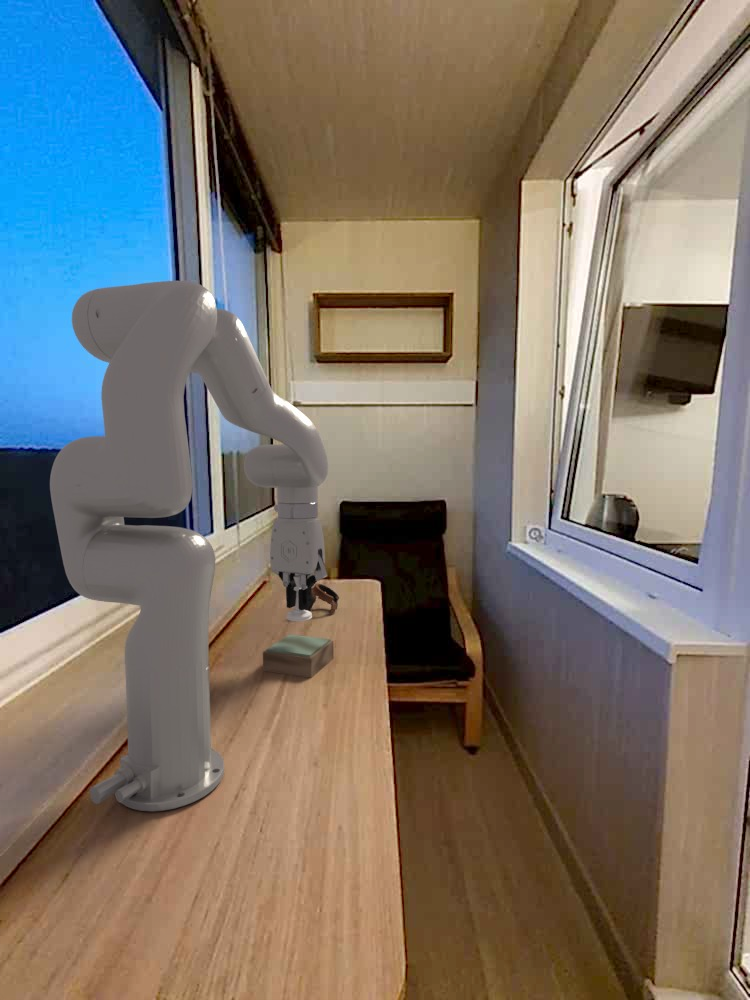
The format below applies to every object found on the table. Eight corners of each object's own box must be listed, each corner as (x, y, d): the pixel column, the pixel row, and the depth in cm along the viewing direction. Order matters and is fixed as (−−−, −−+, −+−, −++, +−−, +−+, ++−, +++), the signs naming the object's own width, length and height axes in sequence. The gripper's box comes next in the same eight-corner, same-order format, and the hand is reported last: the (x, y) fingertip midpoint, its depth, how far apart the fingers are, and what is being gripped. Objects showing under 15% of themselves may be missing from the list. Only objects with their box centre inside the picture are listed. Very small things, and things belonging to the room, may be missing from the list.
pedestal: (311, 677, 98) (311, 656, 98) (263, 670, 102) (262, 649, 101) (333, 658, 108) (333, 638, 107) (288, 652, 111) (288, 633, 111)
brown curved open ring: (308, 607, 146) (323, 581, 146) (333, 627, 142) (349, 601, 141) (282, 606, 136) (299, 578, 135) (308, 628, 131) (325, 600, 131)
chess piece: (307, 622, 101) (306, 569, 100) (282, 620, 102) (281, 568, 101) (315, 614, 106) (315, 564, 105) (291, 613, 107) (290, 563, 106)
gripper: (251, 511, 103) (253, 606, 104) (321, 516, 95) (322, 618, 97) (277, 508, 109) (278, 597, 111) (344, 512, 102) (344, 608, 103)
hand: (299, 606), depth 104 cm, fingers closed on chess piece
